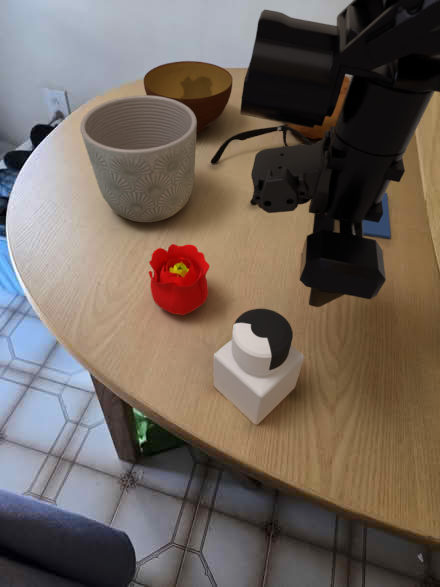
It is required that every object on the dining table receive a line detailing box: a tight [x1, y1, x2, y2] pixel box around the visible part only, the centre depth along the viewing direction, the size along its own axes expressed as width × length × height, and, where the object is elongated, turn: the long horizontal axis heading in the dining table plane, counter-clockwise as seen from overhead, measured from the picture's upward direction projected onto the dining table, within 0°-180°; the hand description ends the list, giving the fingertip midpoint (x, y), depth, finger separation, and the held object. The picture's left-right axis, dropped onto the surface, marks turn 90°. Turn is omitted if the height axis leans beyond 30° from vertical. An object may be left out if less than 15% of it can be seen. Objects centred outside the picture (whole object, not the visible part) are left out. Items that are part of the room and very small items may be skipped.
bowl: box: [143, 60, 234, 134], centre depth 88 cm, size 18×18×10 cm
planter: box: [79, 94, 197, 223], centre depth 68 cm, size 17×17×15 cm
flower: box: [148, 243, 210, 316], centre depth 57 cm, size 8×8×8 cm
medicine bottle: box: [213, 308, 305, 425], centre depth 47 cm, size 7×7×12 cm
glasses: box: [210, 124, 314, 205], centre depth 80 cm, size 17×18×5 cm
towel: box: [362, 192, 392, 240], centre depth 73 cm, size 11×12×1 cm
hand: (315, 272), depth 45 cm, fingers open, 9 cm apart
